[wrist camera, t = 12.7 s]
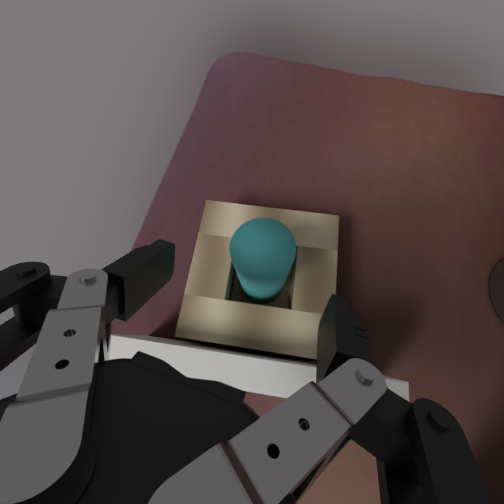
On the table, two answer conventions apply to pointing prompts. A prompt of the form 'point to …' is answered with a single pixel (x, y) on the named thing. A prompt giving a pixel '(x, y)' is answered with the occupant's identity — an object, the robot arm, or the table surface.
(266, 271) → the teal rounded cylinder
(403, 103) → the table surface
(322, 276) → the socket block
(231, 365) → the backstop wall
